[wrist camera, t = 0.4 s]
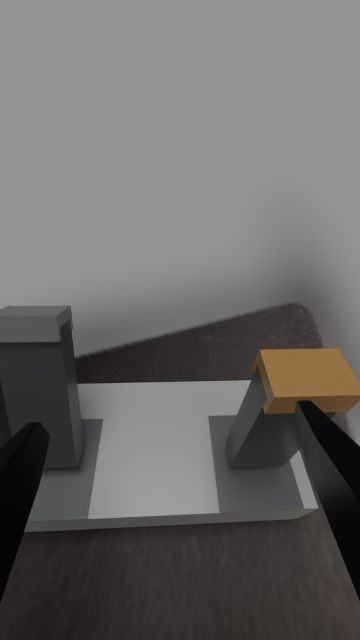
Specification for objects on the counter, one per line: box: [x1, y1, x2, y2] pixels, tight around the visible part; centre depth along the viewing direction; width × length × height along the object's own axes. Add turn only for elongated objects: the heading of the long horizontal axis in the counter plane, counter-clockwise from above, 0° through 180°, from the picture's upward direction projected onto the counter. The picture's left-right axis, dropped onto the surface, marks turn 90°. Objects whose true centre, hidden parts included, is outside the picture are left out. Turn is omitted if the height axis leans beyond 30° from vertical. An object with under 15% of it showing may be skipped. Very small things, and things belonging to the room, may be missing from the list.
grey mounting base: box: [24, 381, 318, 532], centre depth 21 cm, size 9×20×4 cm, turn 92°
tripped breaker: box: [226, 349, 360, 468], centre depth 14 cm, size 2×4×10 cm, turn 93°
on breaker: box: [0, 306, 84, 468], centre depth 16 cm, size 2×4×10 cm, turn 93°
